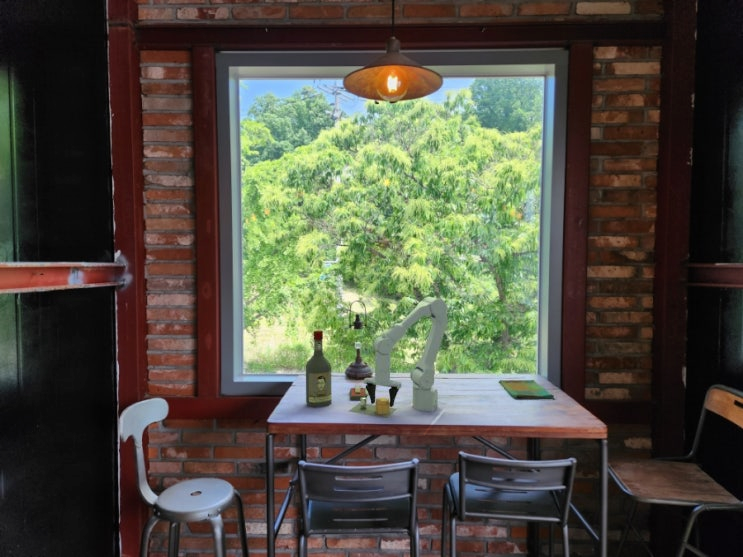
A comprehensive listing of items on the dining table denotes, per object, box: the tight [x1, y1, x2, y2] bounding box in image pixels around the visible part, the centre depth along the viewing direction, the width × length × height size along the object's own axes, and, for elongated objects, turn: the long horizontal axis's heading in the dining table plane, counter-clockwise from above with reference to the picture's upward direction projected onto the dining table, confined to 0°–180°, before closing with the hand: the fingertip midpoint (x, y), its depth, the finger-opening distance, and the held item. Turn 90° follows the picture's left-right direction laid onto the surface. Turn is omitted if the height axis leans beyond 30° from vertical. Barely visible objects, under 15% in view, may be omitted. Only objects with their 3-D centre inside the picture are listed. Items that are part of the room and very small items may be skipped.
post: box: [359, 397, 368, 410], centre depth 167 cm, size 2×2×4 cm
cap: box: [375, 397, 391, 414], centre depth 164 cm, size 5×5×4 cm
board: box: [348, 402, 398, 419], centre depth 166 cm, size 16×10×1 cm, turn 65°
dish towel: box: [498, 379, 555, 400], centre depth 192 cm, size 17×23×2 cm
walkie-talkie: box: [349, 384, 369, 401], centre depth 185 cm, size 9×4×20 cm
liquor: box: [305, 330, 333, 409], centre depth 172 cm, size 9×9×30 cm
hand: (382, 404), depth 164 cm, fingers open, 7 cm apart
